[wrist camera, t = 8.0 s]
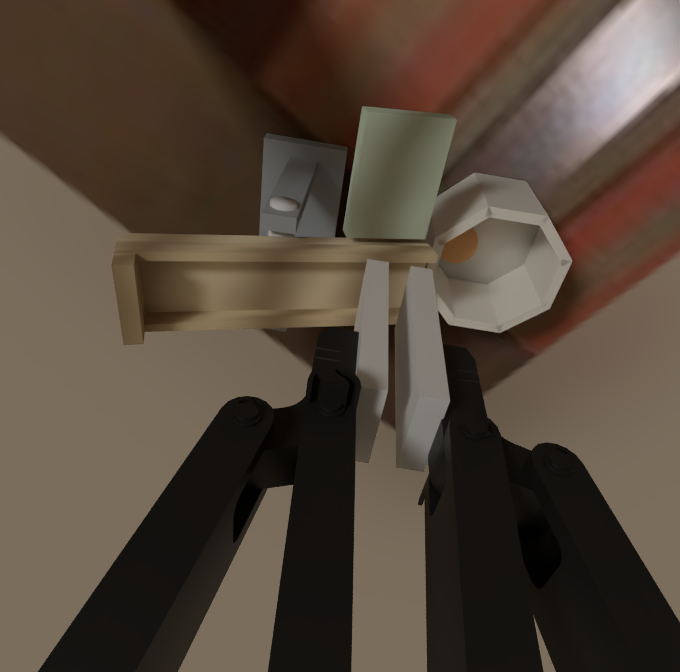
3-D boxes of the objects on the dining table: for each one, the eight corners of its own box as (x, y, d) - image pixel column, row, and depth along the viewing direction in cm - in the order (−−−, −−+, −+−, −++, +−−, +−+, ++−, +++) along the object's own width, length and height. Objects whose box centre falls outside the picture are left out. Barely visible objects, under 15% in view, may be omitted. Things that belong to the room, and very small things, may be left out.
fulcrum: (348, 146, 37) (334, 207, 28) (330, 265, 43) (314, 348, 34) (267, 133, 37) (226, 189, 27) (261, 254, 43) (225, 334, 33)
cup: (562, 187, 37) (590, 223, 32) (517, 293, 43) (535, 338, 38) (438, 166, 37) (446, 199, 32) (409, 275, 43) (412, 318, 38)
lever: (457, 115, 27) (485, 134, 25) (407, 304, 35) (424, 334, 32) (98, 80, 23) (86, 100, 20) (129, 309, 30) (124, 345, 27)
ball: (485, 235, 36) (441, 227, 36) (472, 274, 38) (430, 266, 38) (481, 218, 38) (440, 210, 39) (469, 255, 40) (430, 247, 40)
